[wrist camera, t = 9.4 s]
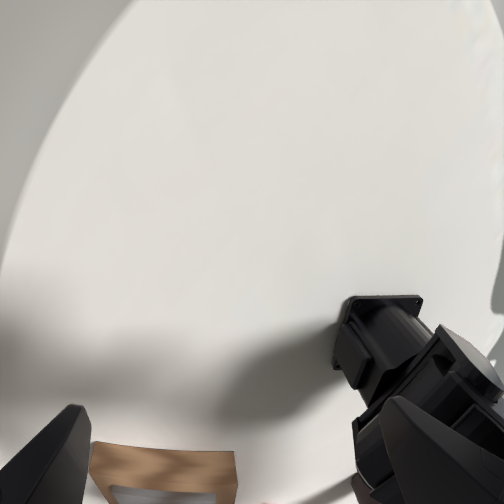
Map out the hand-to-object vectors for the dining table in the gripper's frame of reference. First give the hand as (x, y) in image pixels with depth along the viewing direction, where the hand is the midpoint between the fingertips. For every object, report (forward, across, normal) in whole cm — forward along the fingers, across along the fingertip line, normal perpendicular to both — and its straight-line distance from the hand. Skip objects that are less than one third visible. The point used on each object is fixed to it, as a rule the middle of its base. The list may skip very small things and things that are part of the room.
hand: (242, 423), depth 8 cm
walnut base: (+12, +5, +28) cm, 30 cm away
